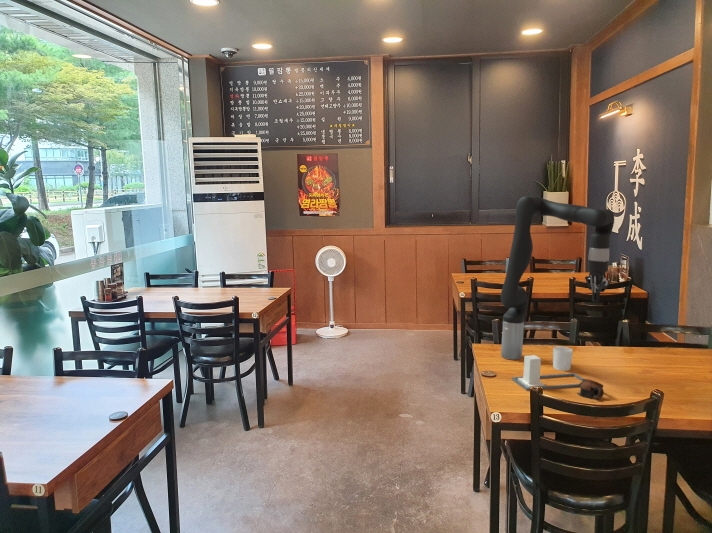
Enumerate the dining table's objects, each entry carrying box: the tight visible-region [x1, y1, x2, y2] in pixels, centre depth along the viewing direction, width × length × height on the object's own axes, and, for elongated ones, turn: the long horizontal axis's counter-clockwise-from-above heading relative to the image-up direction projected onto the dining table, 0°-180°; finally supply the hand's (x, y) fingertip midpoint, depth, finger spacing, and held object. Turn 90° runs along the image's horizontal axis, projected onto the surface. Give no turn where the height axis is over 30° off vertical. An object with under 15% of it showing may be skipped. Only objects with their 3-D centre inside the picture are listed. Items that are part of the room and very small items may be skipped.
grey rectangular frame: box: [511, 372, 584, 392], centre depth 212 cm, size 12×28×2 cm, turn 101°
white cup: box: [552, 346, 574, 372], centre depth 229 cm, size 8×8×10 cm
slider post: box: [518, 354, 546, 387], centre depth 209 cm, size 9×7×11 cm
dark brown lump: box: [576, 378, 605, 400], centre depth 199 cm, size 12×10×8 cm
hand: (595, 301), depth 215 cm, fingers closed
